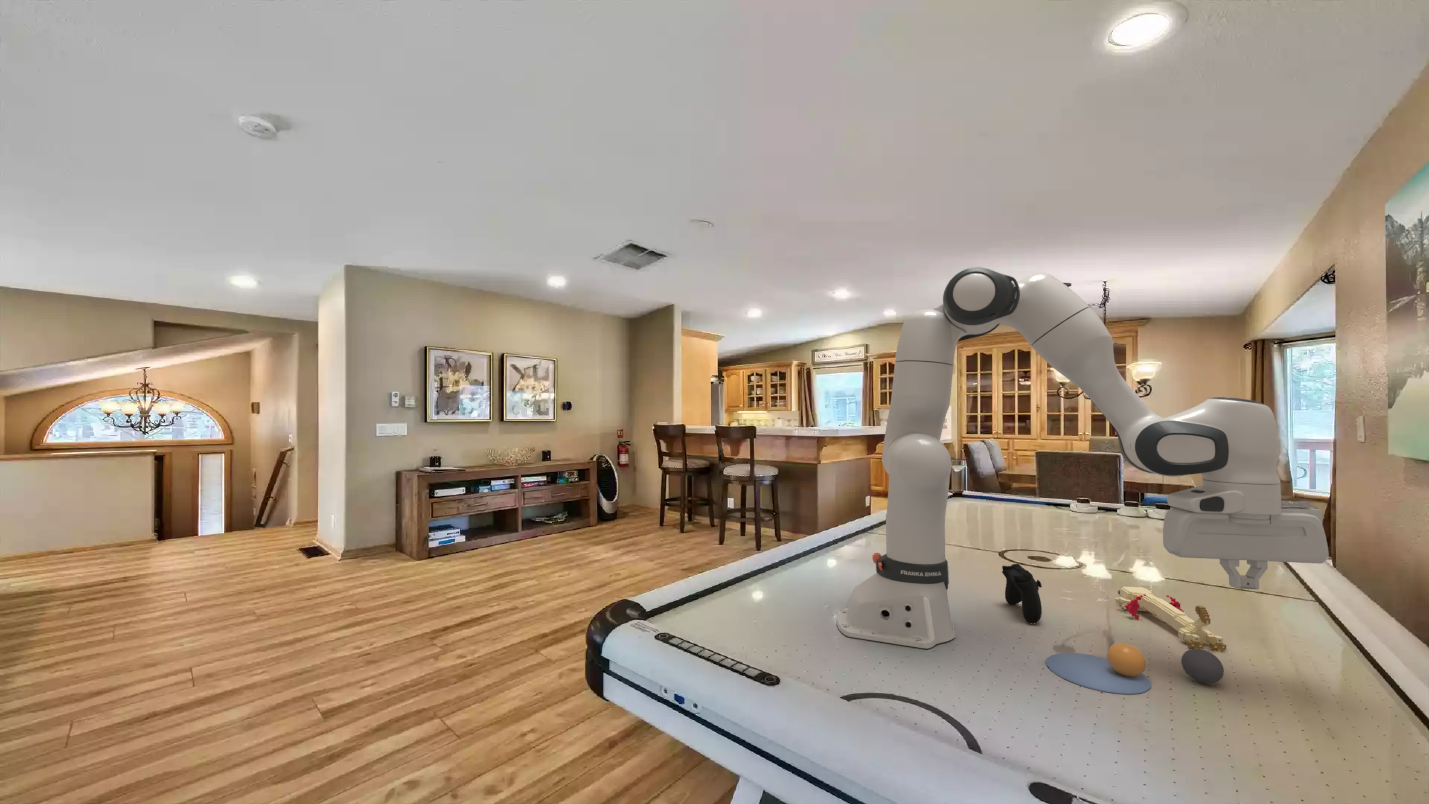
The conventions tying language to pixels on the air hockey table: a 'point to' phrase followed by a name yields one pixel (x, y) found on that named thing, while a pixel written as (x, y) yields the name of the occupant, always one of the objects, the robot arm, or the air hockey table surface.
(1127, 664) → the object ball
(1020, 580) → the gaming controller
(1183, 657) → the dark grey ball
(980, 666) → the air hockey table surface
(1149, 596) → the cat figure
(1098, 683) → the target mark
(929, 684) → the air hockey table surface
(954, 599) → the air hockey table surface
